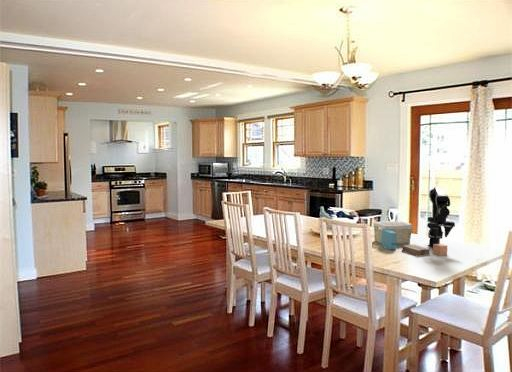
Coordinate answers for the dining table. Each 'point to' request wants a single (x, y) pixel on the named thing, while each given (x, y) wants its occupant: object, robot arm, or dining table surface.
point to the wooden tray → (416, 250)
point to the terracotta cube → (440, 249)
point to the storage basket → (394, 230)
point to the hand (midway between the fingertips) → (440, 237)
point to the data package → (389, 239)
